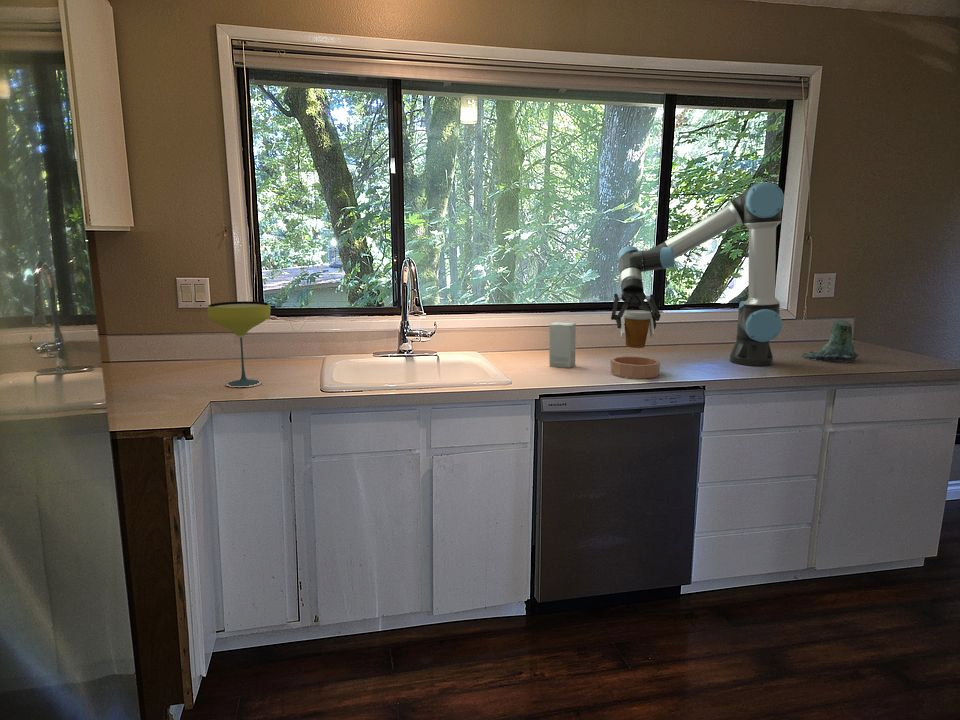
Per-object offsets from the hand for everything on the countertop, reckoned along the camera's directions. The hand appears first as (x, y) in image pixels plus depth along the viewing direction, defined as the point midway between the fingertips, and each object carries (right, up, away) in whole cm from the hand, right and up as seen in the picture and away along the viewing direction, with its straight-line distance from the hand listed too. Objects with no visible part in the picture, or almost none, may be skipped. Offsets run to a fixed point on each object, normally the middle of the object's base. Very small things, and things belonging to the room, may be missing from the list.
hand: (637, 335), depth 224 cm
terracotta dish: (0, -13, +6) cm, 14 cm away
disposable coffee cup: (0, -4, +4) cm, 6 cm away
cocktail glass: (-127, -16, -15) cm, 129 cm away
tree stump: (+84, -8, +36) cm, 92 cm away
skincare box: (-23, -11, +17) cm, 31 cm away
